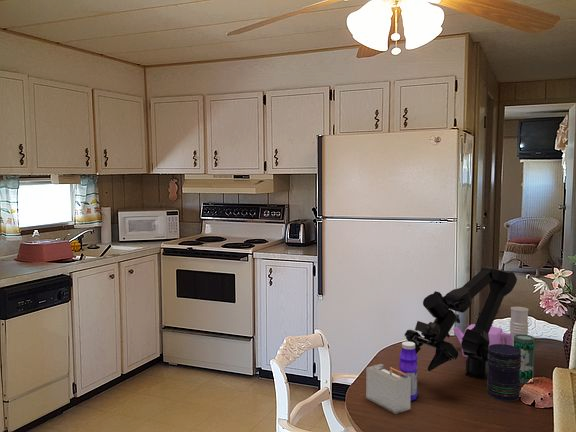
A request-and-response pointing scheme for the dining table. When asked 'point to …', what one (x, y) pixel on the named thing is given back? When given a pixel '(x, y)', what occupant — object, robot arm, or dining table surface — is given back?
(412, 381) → the bottle
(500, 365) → the storage jar
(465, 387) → the dining table surface
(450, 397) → the dining table surface
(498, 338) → the teakettle
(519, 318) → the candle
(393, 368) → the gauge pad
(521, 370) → the can
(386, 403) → the grey open box
